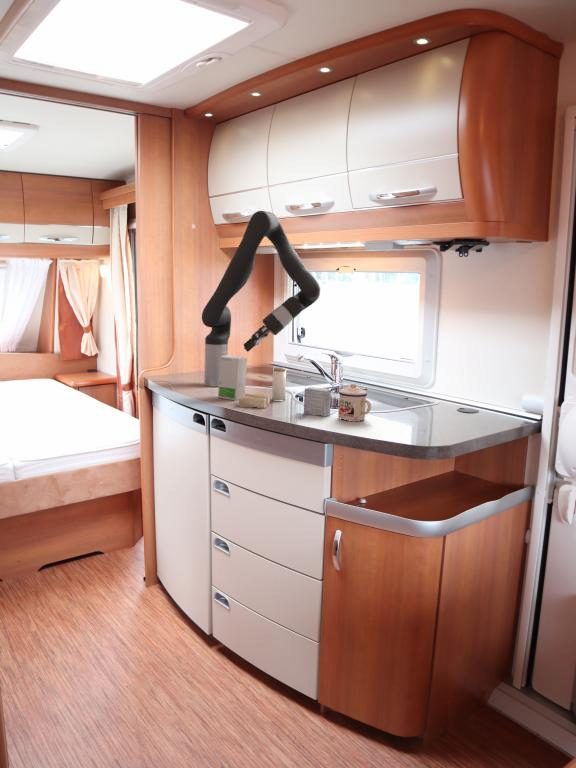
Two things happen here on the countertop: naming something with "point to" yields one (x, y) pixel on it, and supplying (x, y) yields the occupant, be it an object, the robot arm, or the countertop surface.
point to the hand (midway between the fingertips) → (245, 348)
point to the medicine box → (317, 401)
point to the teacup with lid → (353, 403)
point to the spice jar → (279, 383)
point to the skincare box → (232, 377)
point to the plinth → (254, 400)
